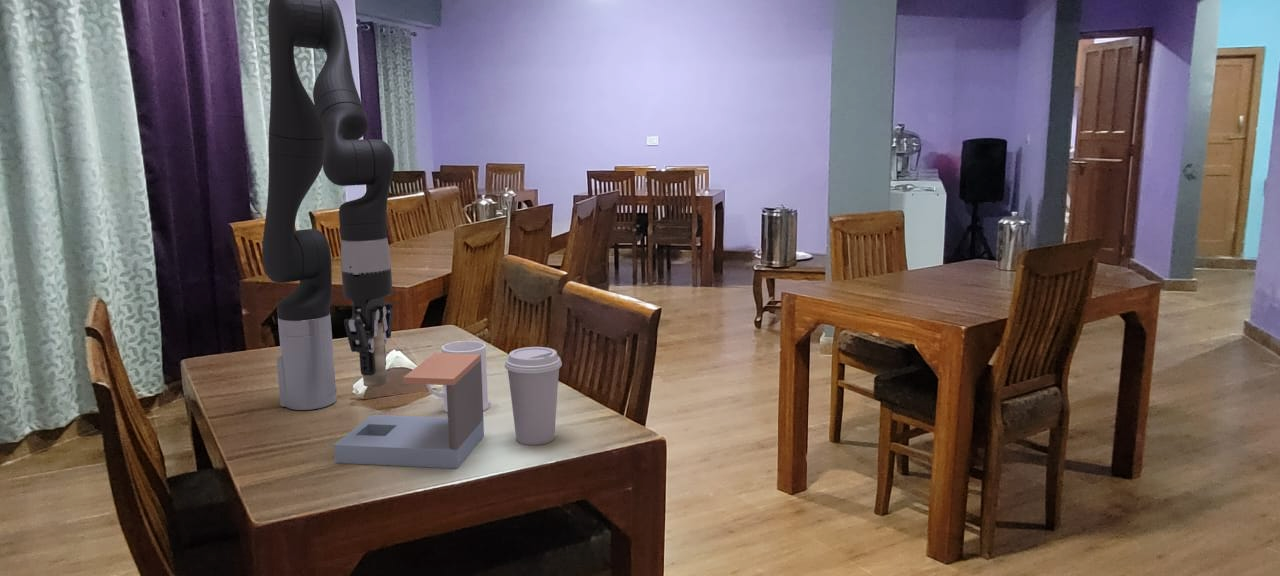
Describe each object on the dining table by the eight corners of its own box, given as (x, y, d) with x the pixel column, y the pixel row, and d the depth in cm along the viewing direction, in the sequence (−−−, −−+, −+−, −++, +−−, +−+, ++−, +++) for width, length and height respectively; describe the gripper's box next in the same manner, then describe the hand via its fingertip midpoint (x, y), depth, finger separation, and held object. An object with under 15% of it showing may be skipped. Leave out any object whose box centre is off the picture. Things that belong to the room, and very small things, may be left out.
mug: (431, 420, 152) (428, 356, 150) (421, 406, 159) (417, 345, 157) (495, 410, 157) (492, 348, 155) (481, 397, 165) (479, 338, 162)
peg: (359, 386, 136) (355, 326, 134) (369, 379, 139) (365, 321, 138) (381, 387, 136) (377, 326, 134) (390, 380, 139) (386, 321, 137)
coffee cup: (515, 452, 138) (512, 363, 135) (500, 432, 146) (497, 349, 143) (571, 443, 141) (569, 357, 138) (553, 424, 150) (551, 343, 147)
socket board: (335, 462, 133) (328, 374, 130) (372, 431, 147) (367, 350, 144) (457, 468, 131) (453, 379, 128) (484, 435, 145) (480, 354, 142)
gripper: (362, 259, 141) (370, 358, 144) (322, 274, 127) (331, 383, 131) (406, 260, 140) (412, 359, 144) (370, 274, 127) (377, 384, 130)
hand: (373, 370), depth 137 cm, fingers closed on peg, 3 cm apart
